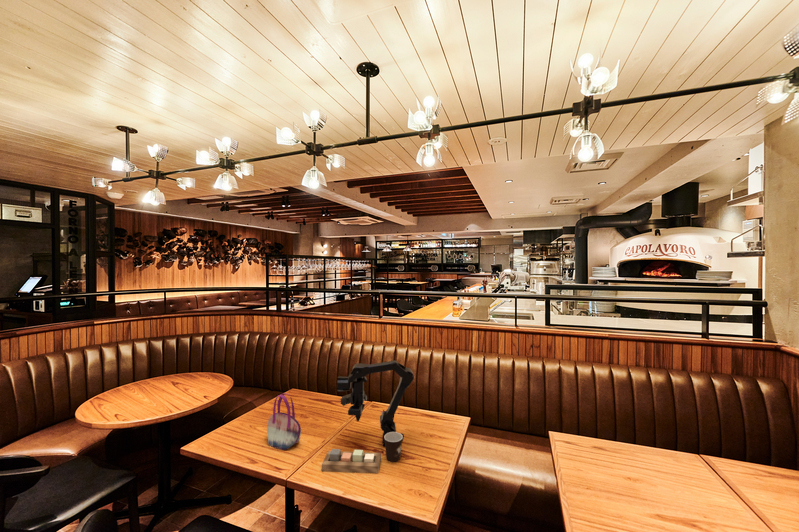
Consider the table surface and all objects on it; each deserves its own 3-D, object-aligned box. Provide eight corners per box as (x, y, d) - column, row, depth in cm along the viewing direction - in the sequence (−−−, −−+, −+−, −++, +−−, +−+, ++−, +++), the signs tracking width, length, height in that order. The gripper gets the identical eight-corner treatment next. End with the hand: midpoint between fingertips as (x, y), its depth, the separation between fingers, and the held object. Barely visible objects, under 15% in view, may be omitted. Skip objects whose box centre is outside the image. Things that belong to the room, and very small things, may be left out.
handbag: (260, 443, 158) (260, 394, 158) (275, 433, 167) (275, 387, 167) (292, 453, 150) (292, 401, 149) (306, 443, 159) (306, 394, 159)
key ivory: (374, 462, 142) (374, 453, 142) (373, 468, 138) (373, 459, 138) (365, 462, 143) (365, 453, 143) (364, 467, 139) (364, 458, 139)
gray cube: (340, 457, 143) (340, 449, 143) (338, 463, 139) (338, 454, 139) (332, 457, 144) (332, 448, 144) (329, 463, 140) (329, 454, 140)
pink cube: (351, 461, 143) (351, 452, 143) (349, 467, 139) (349, 458, 139) (343, 461, 143) (343, 452, 143) (341, 466, 139) (341, 458, 139)
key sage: (363, 458, 143) (363, 450, 143) (361, 464, 139) (361, 455, 139) (354, 458, 143) (354, 449, 143) (352, 463, 139) (352, 455, 139)
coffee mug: (389, 466, 140) (389, 443, 140) (381, 455, 148) (381, 434, 148) (411, 458, 146) (411, 437, 146) (402, 449, 153) (402, 428, 153)
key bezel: (381, 459, 145) (380, 452, 145) (378, 473, 135) (378, 466, 135) (328, 457, 147) (328, 451, 147) (321, 471, 137) (321, 464, 137)
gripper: (346, 382, 167) (346, 411, 167) (337, 397, 148) (337, 430, 148) (367, 383, 166) (367, 412, 166) (360, 398, 147) (360, 431, 147)
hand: (358, 421), depth 157 cm, fingers closed
